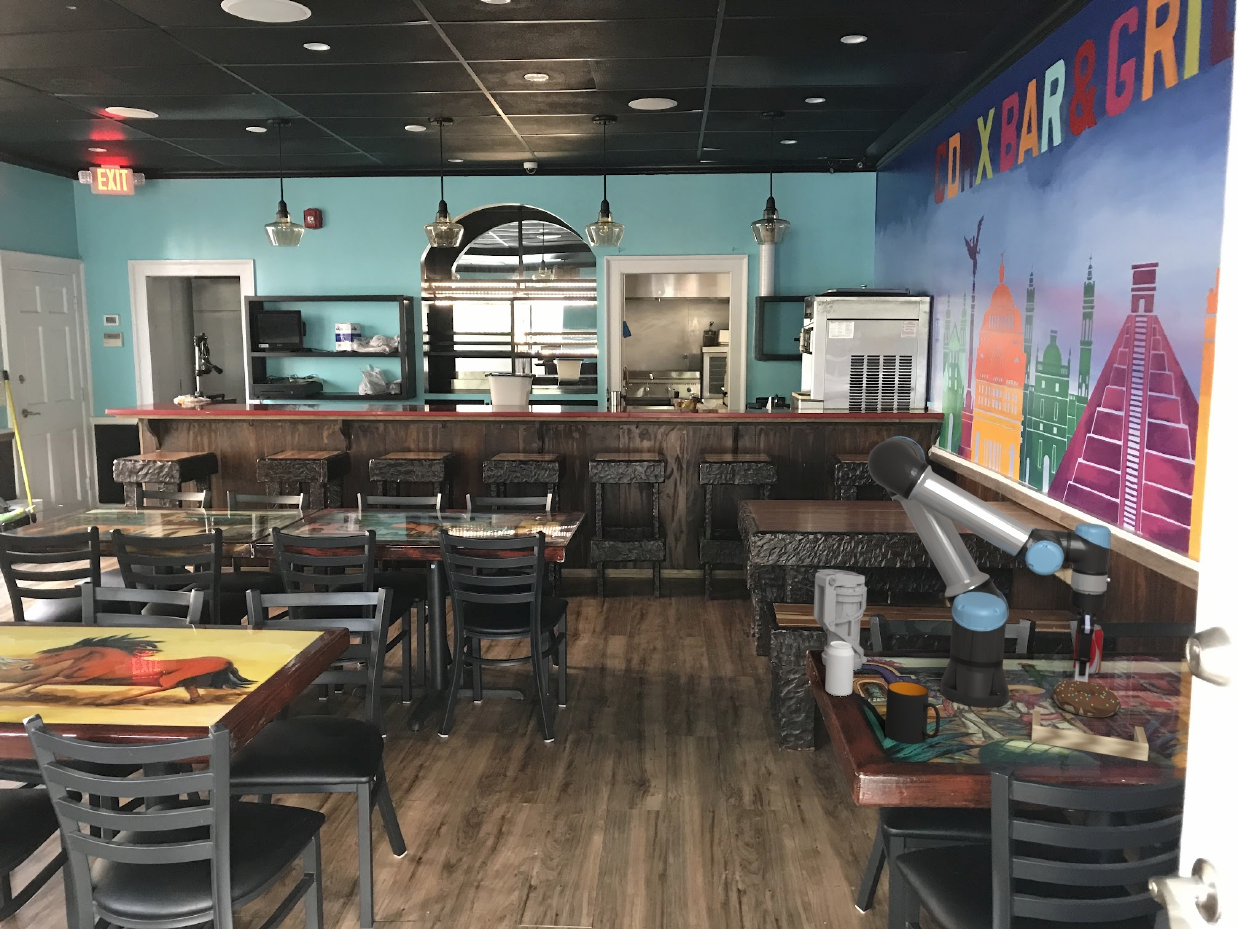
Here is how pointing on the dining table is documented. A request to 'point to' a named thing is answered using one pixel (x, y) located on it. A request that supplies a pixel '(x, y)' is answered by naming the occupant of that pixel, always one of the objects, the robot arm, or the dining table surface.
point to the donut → (1086, 699)
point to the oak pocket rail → (1091, 741)
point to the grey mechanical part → (840, 609)
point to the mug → (908, 713)
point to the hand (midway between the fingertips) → (1080, 686)
